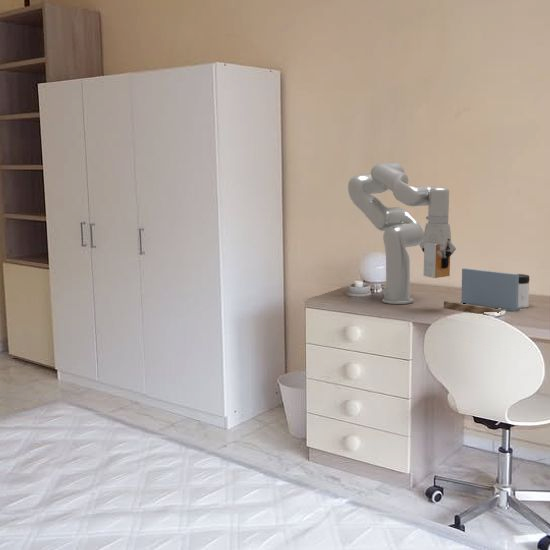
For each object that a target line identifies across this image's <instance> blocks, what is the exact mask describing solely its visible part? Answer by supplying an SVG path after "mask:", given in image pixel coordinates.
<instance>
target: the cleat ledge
mask: <svg viewBox="0 0 550 550" xmlns="http://www.w3.org/2000/svg"><path fill="white" fill-rule="evenodd" d="M444 307H446V308H445V309H448V308H452V309H451V310H454V309H458V310H457V311H460V310H463V311H462V312H466V311H468V312H469V313H474V314H479V313H484V312H497V313H499V312H501V311H502V309H495V308H489V307H482V306H476V305H470V304H463V303H461V302H455V301H449V300H444V301H443V308H444Z"/></svg>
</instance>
